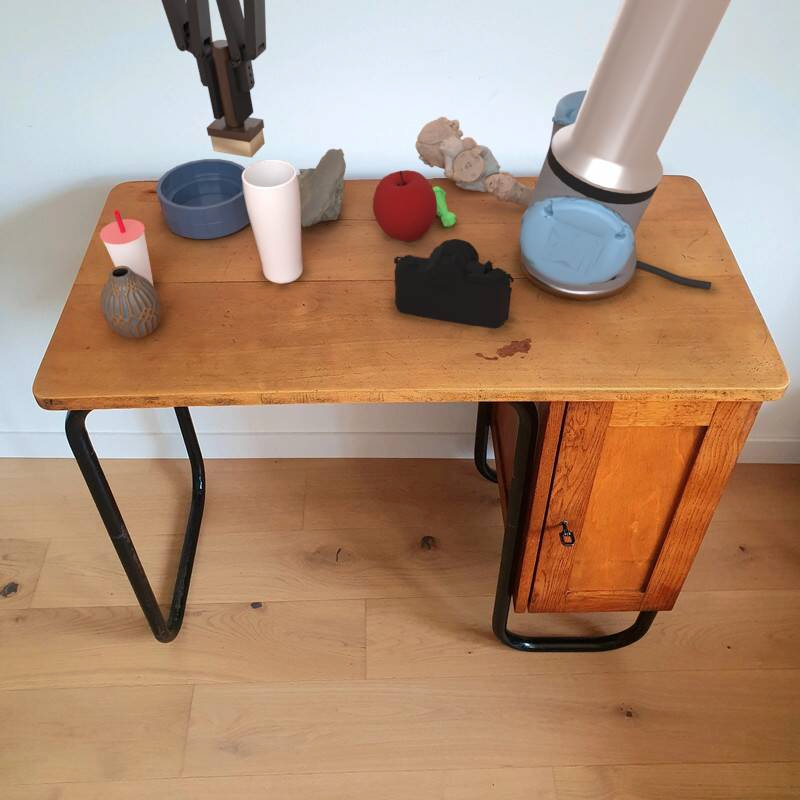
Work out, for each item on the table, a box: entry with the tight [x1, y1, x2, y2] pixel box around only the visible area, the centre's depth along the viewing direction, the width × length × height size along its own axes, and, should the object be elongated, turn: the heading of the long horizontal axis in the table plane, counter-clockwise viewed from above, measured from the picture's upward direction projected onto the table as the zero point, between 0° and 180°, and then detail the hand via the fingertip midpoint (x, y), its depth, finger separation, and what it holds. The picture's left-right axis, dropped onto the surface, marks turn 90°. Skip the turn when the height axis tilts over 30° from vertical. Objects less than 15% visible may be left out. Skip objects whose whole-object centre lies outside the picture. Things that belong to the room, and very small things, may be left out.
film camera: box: [393, 238, 515, 329], centre depth 97 cm, size 15×10×9 cm, turn 74°
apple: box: [372, 169, 437, 242], centre depth 106 cm, size 9×9×10 cm
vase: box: [100, 266, 163, 339], centre depth 94 cm, size 7×7×9 cm
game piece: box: [432, 186, 458, 228], centre depth 111 cm, size 4×4×6 cm
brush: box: [206, 39, 265, 158], centre depth 87 cm, size 5×4×12 cm
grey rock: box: [297, 148, 347, 228], centre depth 111 cm, size 14×10×10 cm
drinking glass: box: [242, 159, 304, 285], centre depth 99 cm, size 7×7×15 cm
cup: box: [99, 209, 154, 286], centre depth 98 cm, size 5×5×12 cm
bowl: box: [155, 158, 250, 240], centre depth 112 cm, size 13×13×6 cm
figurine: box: [415, 116, 534, 208], centre depth 116 cm, size 9×8×20 cm
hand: (233, 115), depth 88 cm, fingers closed on brush, 2 cm apart
